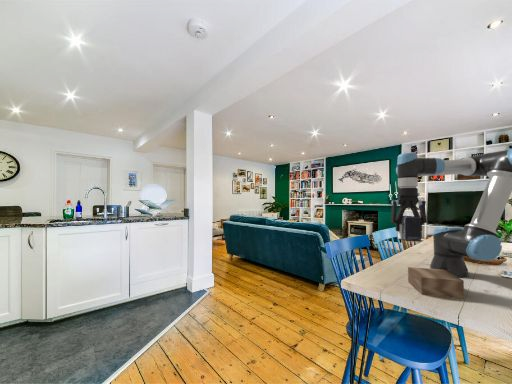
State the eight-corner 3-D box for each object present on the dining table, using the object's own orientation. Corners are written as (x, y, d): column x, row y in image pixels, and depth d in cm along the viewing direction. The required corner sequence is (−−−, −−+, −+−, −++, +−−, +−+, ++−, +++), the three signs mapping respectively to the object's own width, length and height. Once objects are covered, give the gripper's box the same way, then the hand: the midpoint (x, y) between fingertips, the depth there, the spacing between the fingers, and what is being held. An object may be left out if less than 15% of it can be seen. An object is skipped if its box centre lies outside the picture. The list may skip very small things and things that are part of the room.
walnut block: (444, 285, 102) (444, 269, 102) (463, 299, 88) (463, 280, 88) (408, 282, 105) (408, 267, 106) (421, 295, 92) (421, 277, 92)
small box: (422, 241, 99) (421, 217, 99) (405, 241, 100) (404, 217, 100) (412, 237, 109) (411, 215, 109) (396, 237, 110) (395, 215, 111)
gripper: (426, 187, 107) (427, 237, 107) (381, 188, 110) (382, 236, 110) (436, 186, 100) (438, 240, 99) (387, 187, 103) (388, 239, 102)
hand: (408, 238), depth 105 cm, fingers closed on small box, 7 cm apart
